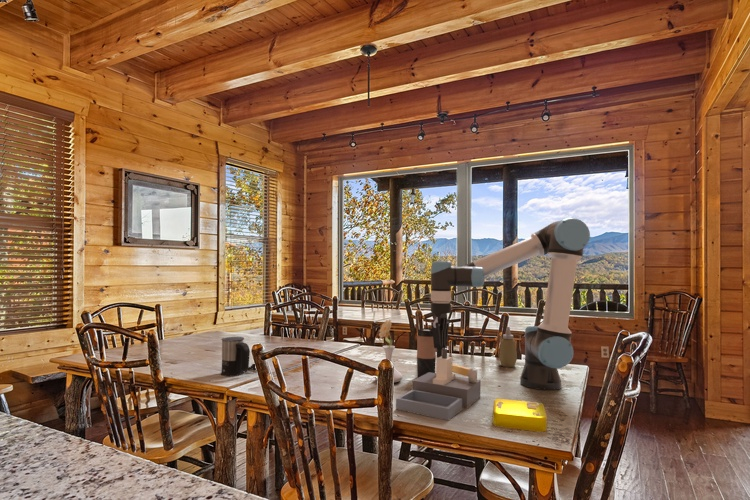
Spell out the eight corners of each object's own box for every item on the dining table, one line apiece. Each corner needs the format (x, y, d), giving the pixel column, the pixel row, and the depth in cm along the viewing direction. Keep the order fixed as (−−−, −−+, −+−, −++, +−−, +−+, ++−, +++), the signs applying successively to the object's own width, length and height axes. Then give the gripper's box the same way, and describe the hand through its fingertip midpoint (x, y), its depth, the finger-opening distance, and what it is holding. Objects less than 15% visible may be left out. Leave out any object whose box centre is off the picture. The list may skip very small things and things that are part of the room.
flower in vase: (374, 377, 181) (375, 316, 182) (402, 377, 181) (403, 317, 181) (373, 386, 168) (374, 320, 169) (403, 386, 168) (404, 321, 168)
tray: (462, 409, 143) (462, 398, 143) (448, 420, 133) (448, 408, 133) (412, 399, 152) (412, 389, 152) (396, 409, 142) (396, 398, 142)
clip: (479, 381, 153) (479, 370, 153) (473, 383, 151) (473, 371, 152) (442, 371, 167) (442, 360, 167) (436, 372, 165) (436, 361, 165)
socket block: (480, 397, 156) (480, 380, 156) (467, 408, 144) (467, 389, 144) (428, 388, 166) (428, 372, 167) (412, 397, 154) (412, 380, 155)
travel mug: (434, 381, 177) (435, 331, 177) (415, 379, 178) (416, 330, 179) (436, 376, 184) (436, 328, 185) (417, 375, 186) (418, 327, 186)
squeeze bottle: (519, 365, 206) (519, 326, 206) (514, 368, 199) (514, 329, 199) (501, 363, 210) (502, 325, 210) (496, 366, 203) (497, 327, 204)
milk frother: (215, 375, 181) (216, 339, 181) (237, 366, 196) (238, 333, 196) (246, 378, 177) (247, 341, 177) (266, 369, 192) (267, 335, 192)
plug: (455, 386, 158) (455, 347, 159) (443, 394, 149) (444, 352, 149) (444, 384, 160) (445, 346, 161) (432, 392, 151) (433, 351, 151)
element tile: (494, 411, 143) (494, 396, 143) (543, 416, 139) (543, 401, 139) (492, 427, 129) (492, 411, 129) (547, 434, 124) (547, 416, 124)
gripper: (438, 300, 172) (437, 361, 171) (424, 302, 160) (424, 367, 160) (456, 301, 168) (456, 363, 167) (443, 303, 157) (443, 370, 156)
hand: (440, 365), depth 163 cm, fingers closed
